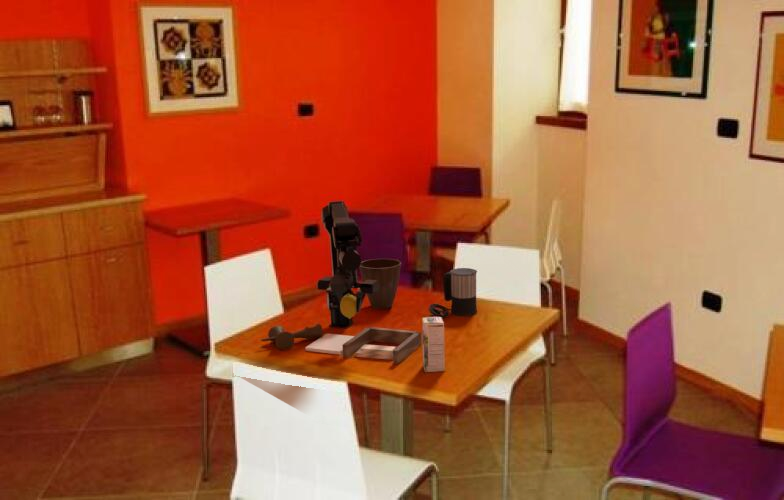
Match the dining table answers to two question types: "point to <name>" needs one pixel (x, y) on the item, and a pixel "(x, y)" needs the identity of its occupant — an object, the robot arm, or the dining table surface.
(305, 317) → the dining table surface
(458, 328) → the dining table surface
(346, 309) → the lemon
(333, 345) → the tile
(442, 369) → the syrup box
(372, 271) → the plant pot
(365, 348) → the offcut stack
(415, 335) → the walnut rack
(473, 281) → the milk frother
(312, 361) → the dining table surface
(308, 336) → the kendama
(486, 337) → the dining table surface
